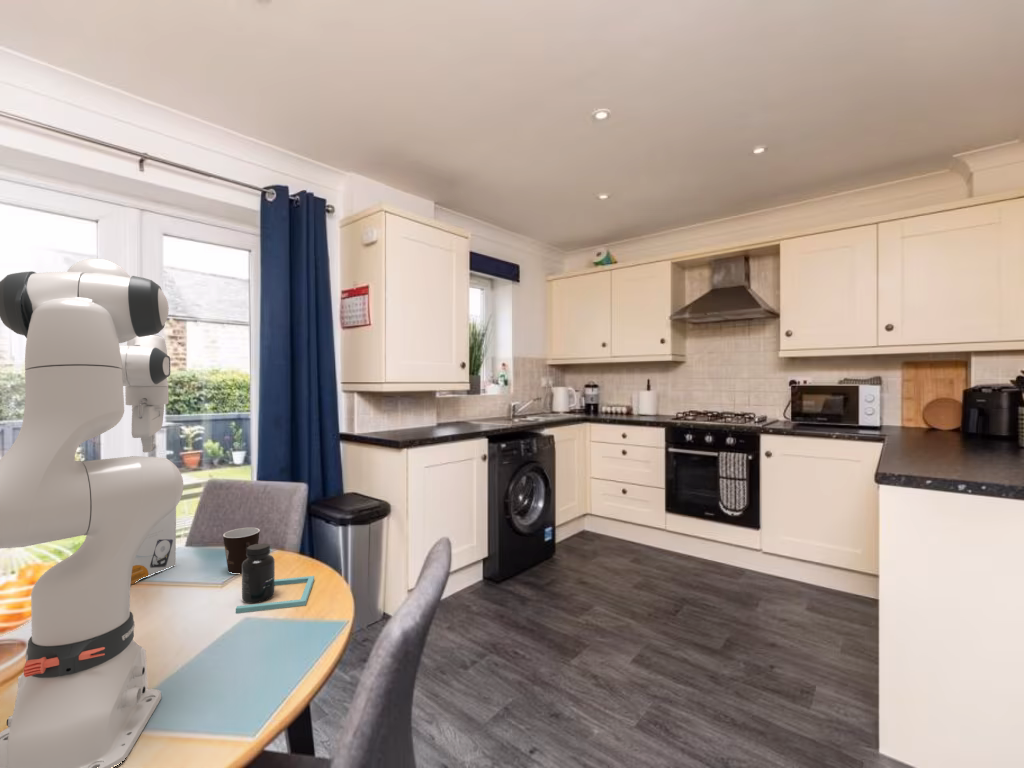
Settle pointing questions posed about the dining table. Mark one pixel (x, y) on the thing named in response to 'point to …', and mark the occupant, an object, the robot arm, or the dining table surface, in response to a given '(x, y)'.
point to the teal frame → (283, 603)
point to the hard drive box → (156, 549)
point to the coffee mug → (239, 546)
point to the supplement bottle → (258, 574)
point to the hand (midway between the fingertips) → (147, 451)
